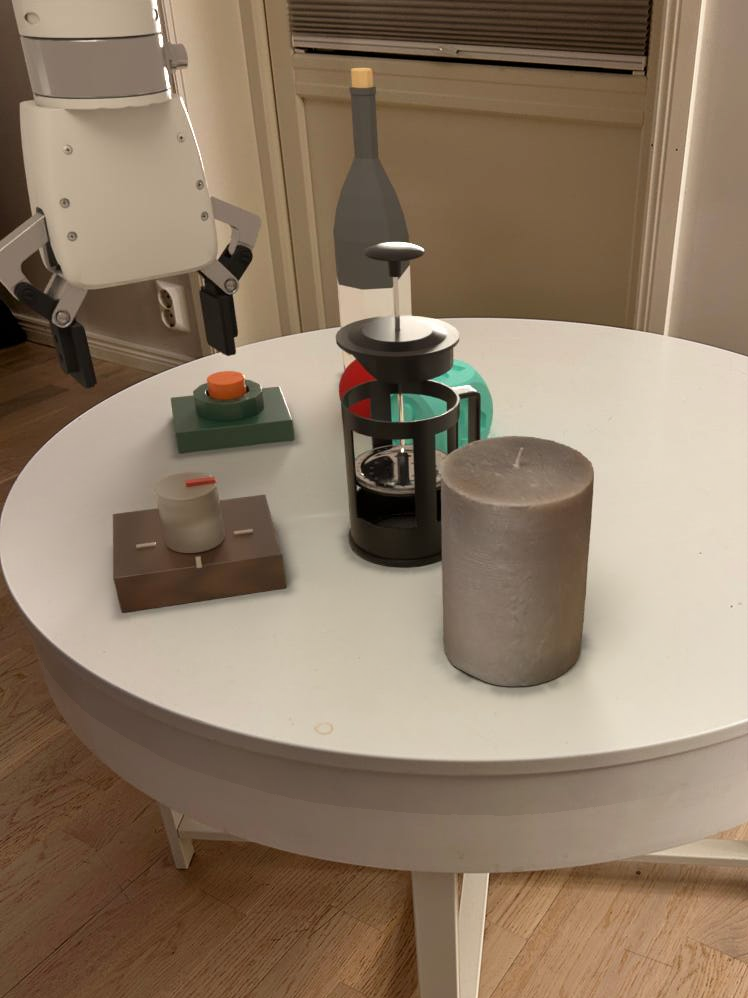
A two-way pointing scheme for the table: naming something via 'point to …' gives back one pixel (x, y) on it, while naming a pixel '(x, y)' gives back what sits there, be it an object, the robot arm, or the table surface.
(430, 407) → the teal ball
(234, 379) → the button
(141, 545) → the dial panel
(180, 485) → the dial knob
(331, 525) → the table surface
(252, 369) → the table surface
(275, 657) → the table surface
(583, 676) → the table surface
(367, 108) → the wine bottle
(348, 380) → the christmas ornament
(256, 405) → the button box
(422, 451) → the french press
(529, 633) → the pillar candle
